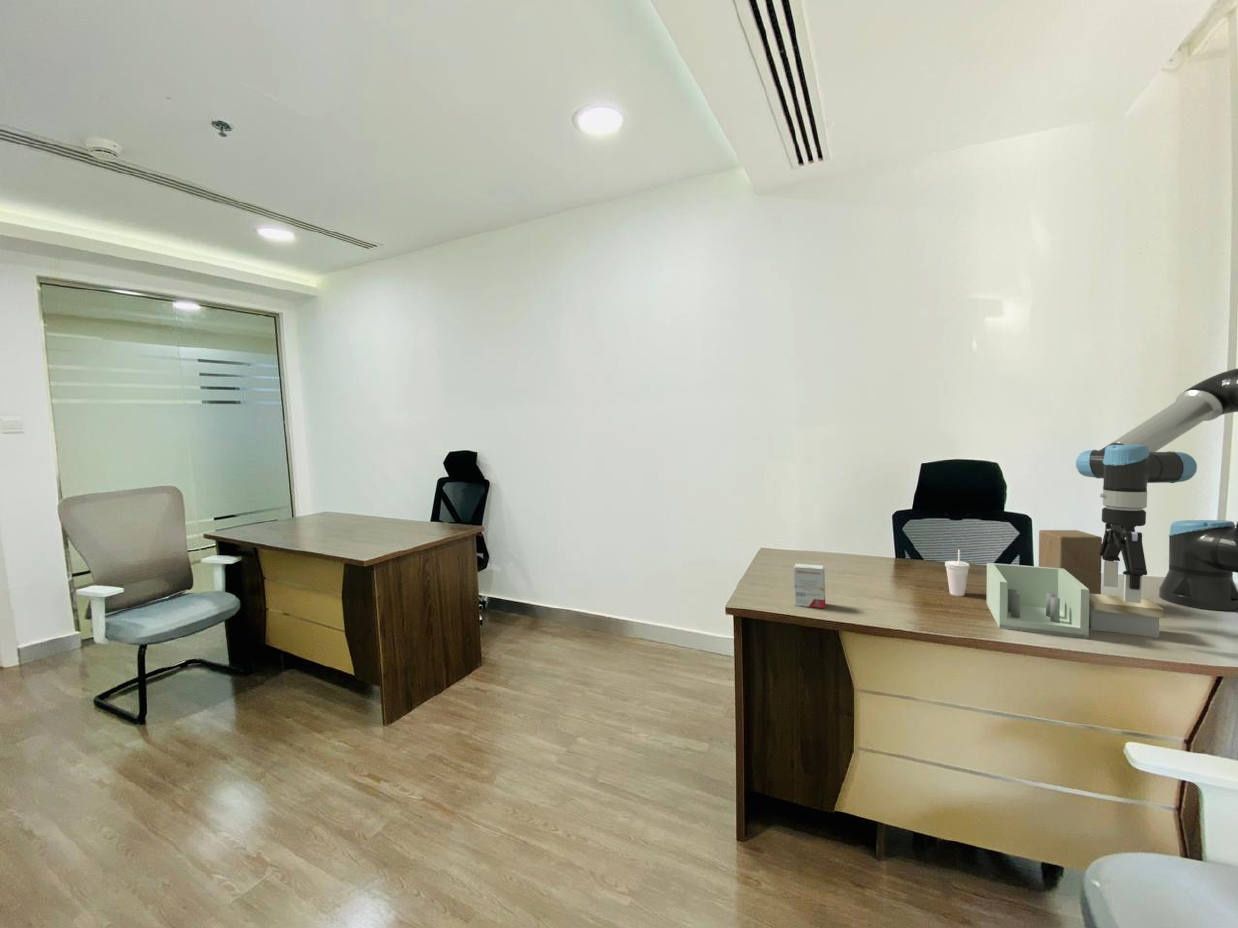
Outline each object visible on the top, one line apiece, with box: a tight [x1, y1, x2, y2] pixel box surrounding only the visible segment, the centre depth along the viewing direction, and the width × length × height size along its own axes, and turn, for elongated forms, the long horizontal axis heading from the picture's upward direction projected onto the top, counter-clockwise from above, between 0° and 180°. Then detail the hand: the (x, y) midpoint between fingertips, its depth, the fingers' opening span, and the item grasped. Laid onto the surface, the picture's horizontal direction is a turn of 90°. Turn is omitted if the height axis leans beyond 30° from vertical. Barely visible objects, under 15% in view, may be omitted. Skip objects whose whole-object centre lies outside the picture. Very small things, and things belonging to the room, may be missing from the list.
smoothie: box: [944, 548, 971, 597], centre depth 152 cm, size 6×6×14 cm
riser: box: [1089, 606, 1161, 639], centre depth 122 cm, size 12×4×6 cm, turn 61°
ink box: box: [793, 563, 826, 609], centre depth 147 cm, size 9×5×12 cm, turn 65°
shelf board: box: [1089, 593, 1165, 619], centre depth 122 cm, size 12×8×2 cm, turn 61°
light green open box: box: [986, 562, 1090, 640], centre depth 130 cm, size 17×20×12 cm
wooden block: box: [1038, 529, 1103, 595], centre depth 142 cm, size 10×10×20 cm
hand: (1120, 593), depth 121 cm, fingers open, 13 cm apart
